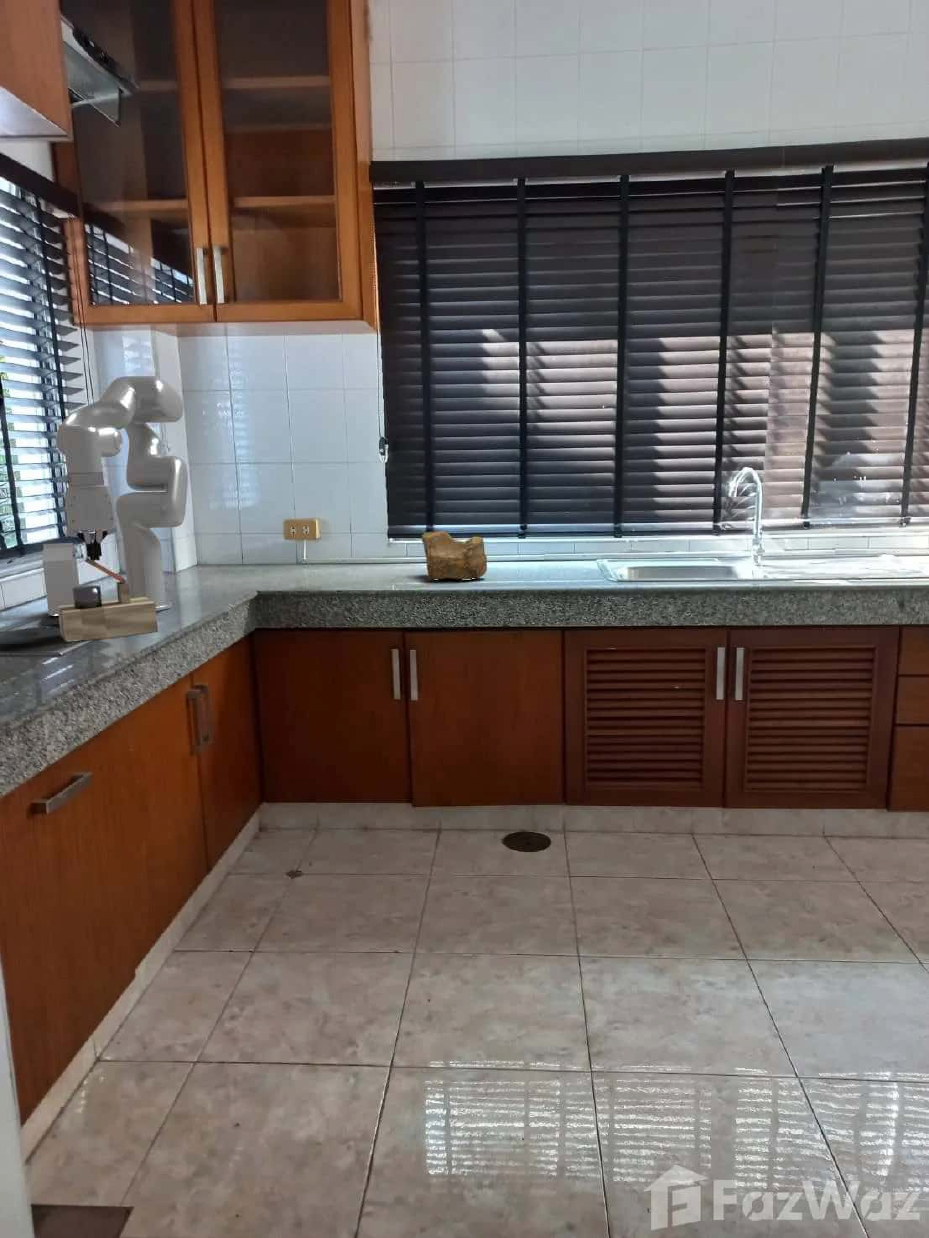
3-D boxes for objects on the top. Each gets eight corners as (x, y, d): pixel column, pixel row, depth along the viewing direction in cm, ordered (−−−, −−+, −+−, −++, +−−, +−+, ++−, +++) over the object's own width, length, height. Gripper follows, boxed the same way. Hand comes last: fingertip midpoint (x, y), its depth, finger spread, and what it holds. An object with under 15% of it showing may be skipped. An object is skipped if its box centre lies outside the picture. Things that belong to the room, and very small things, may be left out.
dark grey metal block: (75, 632, 200) (70, 587, 198) (102, 629, 203) (97, 584, 201) (79, 637, 195) (74, 590, 193) (107, 634, 198) (102, 587, 196)
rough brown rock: (403, 583, 273) (401, 537, 269) (430, 571, 287) (429, 528, 282) (465, 590, 262) (464, 543, 257) (490, 578, 275) (490, 533, 271)
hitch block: (60, 635, 200) (55, 586, 198) (148, 624, 211) (143, 577, 208) (67, 643, 192) (61, 592, 189) (157, 631, 202) (153, 583, 200)
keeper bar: (84, 560, 198) (87, 557, 198) (120, 581, 203) (123, 577, 203) (87, 563, 194) (90, 559, 194) (124, 584, 199) (127, 580, 199)
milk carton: (78, 616, 222) (70, 544, 219) (49, 617, 221) (40, 545, 217) (82, 611, 229) (74, 541, 225) (53, 612, 227) (45, 542, 223)
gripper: (53, 482, 186) (62, 565, 190) (124, 480, 194) (132, 559, 198) (47, 481, 192) (57, 561, 196) (117, 478, 200) (124, 555, 204)
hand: (94, 559), depth 197 cm, fingers closed
